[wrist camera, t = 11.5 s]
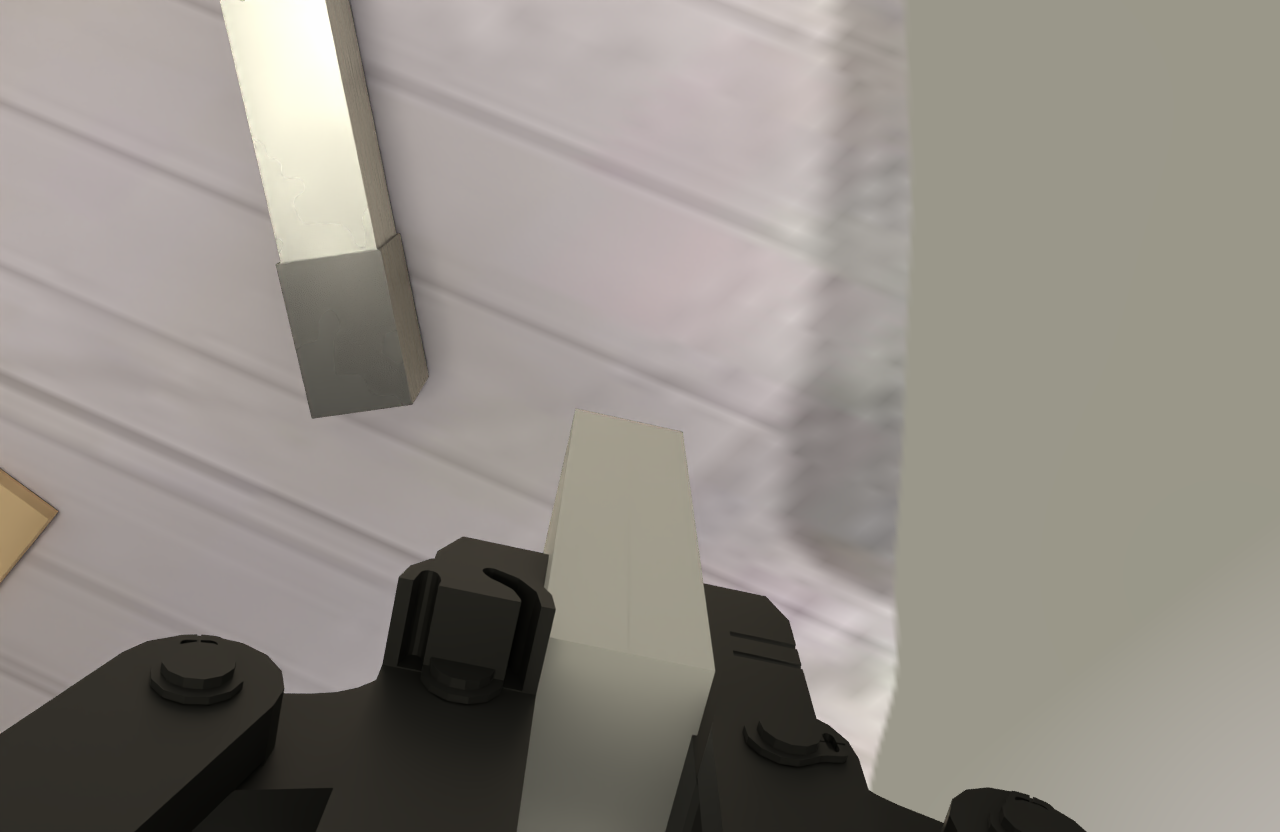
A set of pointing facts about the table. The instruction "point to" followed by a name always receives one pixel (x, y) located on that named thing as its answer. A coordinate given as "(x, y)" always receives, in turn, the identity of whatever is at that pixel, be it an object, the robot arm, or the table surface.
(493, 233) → the table surface
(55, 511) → the cork mat
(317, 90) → the tong jaw
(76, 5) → the table surface
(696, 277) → the table surface
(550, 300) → the table surface
